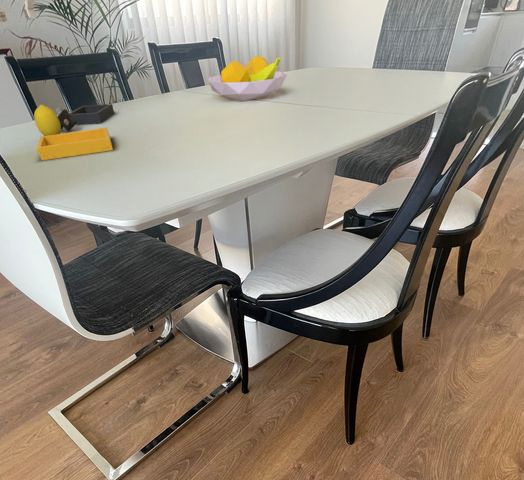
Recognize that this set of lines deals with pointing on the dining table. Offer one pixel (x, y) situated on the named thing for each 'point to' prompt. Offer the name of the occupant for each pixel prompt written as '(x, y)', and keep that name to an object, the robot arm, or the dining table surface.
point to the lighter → (65, 119)
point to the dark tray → (92, 114)
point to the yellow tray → (74, 144)
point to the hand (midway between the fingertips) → (16, 20)
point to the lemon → (47, 121)
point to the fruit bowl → (248, 80)
